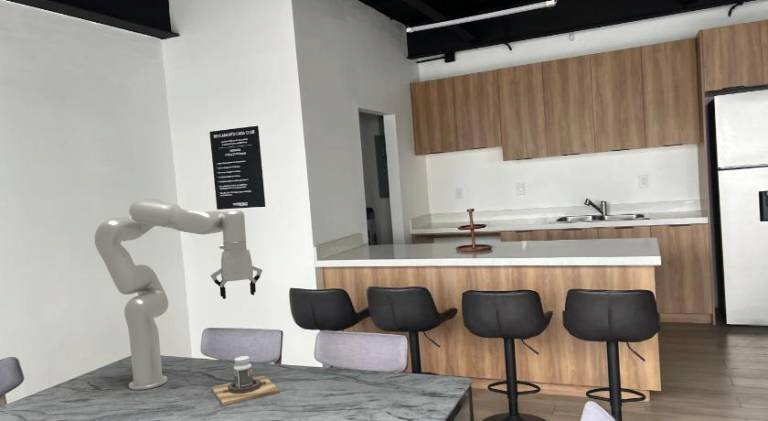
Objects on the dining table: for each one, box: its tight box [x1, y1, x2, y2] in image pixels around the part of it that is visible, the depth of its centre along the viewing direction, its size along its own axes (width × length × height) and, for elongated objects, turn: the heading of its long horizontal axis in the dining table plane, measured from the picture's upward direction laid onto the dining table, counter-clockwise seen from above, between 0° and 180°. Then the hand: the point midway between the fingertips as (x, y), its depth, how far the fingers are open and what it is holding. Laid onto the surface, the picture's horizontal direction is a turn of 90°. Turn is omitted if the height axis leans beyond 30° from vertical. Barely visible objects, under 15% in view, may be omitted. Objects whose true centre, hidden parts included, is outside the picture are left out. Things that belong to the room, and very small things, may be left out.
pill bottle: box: [233, 355, 254, 388], centre depth 187 cm, size 6×6×10 cm
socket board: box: [211, 375, 281, 407], centre depth 187 cm, size 18×18×2 cm
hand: (238, 296), depth 197 cm, fingers open, 9 cm apart
